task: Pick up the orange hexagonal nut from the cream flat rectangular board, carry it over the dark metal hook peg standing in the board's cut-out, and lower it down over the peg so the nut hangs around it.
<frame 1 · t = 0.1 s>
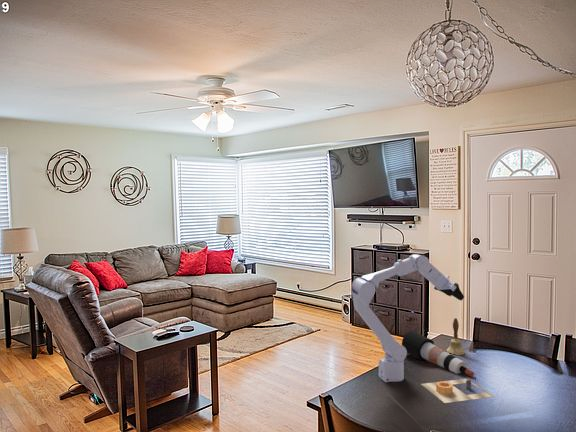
hand: (456, 296, 177), 32 cm above the table, tool tilted 50°, fingers open, 7 cm apart
orange hexagonal nut: (444, 391, 160), point 1 cm above the table, touching cream flat rectangular board
cable: (438, 366, 187), on the table
hand bell: (455, 352, 203), on the table
cream flat rectangular board: (456, 393, 161), on the table
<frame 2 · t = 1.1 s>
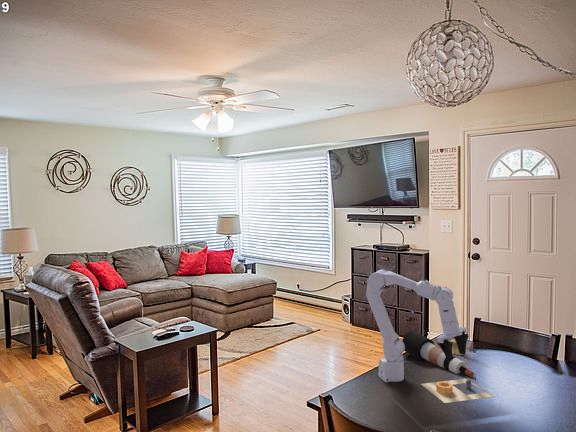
hand: (456, 356, 161), 13 cm above the table, tool pointing down, fingers open, 7 cm apart
nothing on the table moved.
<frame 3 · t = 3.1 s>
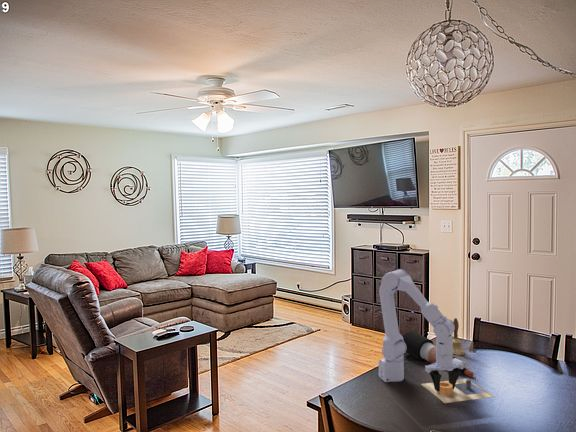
hand: (444, 389, 160), 2 cm above the table, tool pointing down, fingers closed on orange hexagonal nut, 5 cm apart
orange hexagonal nut: (444, 391, 160), point 1 cm above the table, touching gripper, cream flat rectangular board
everything else where it was.
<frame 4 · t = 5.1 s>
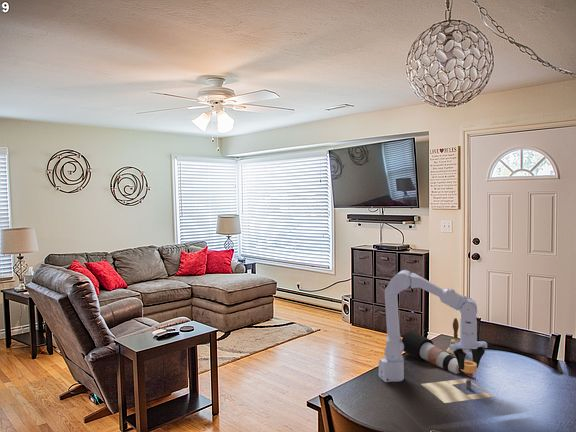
hand: (468, 368, 162), 9 cm above the table, tool pointing down, fingers closed on orange hexagonal nut, 5 cm apart
orange hexagonal nut: (468, 370, 162), point 8 cm above the table, touching gripper
everything else where it was.
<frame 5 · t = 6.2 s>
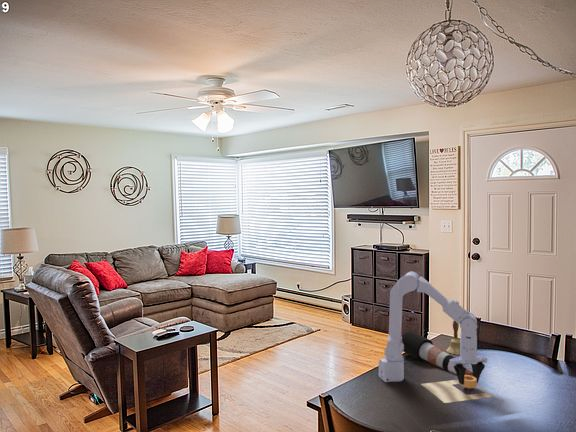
hand: (468, 382, 162), 3 cm above the table, tool pointing down, fingers closed on orange hexagonal nut, 5 cm apart
orange hexagonal nut: (468, 384, 162), point 3 cm above the table, touching gripper
everything else where it was.
when the fingers open (3 cm above the table, at t = 7.1 s): orange hexagonal nut drops 3 cm, resting in cream flat rectangular board.
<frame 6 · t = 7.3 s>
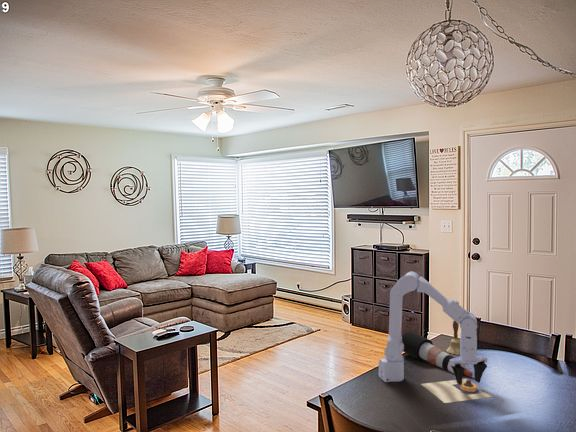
hand: (468, 382, 162), 3 cm above the table, tool pointing down, fingers open, 7 cm apart
orange hexagonal nut: (468, 391, 162), resting in cream flat rectangular board
everything else where it was.
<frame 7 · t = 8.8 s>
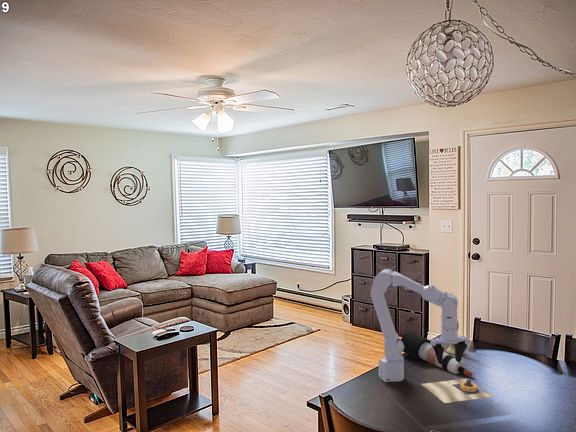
hand: (449, 362, 164), 10 cm above the table, tool pointing down, fingers open, 7 cm apart
nothing on the table moved.
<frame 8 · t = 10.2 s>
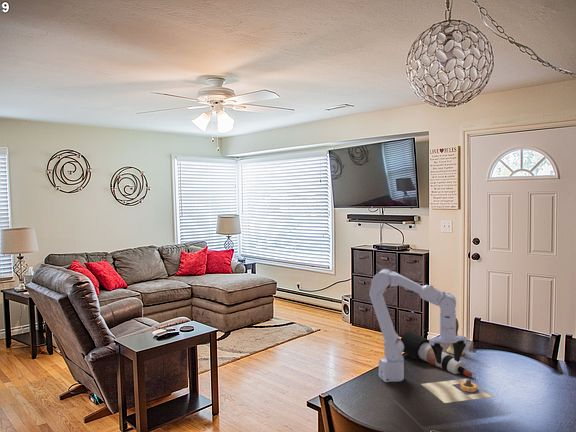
hand: (447, 361, 164), 10 cm above the table, tool pointing down, fingers open, 7 cm apart
at the end: orange hexagonal nut 0.1 cm from the target spot on the cream flat rectangular board, point 0.0 cm above the cream flat rectangular board's base; the gripper is holding nothing; orange hexagonal nut tilted 0° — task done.
